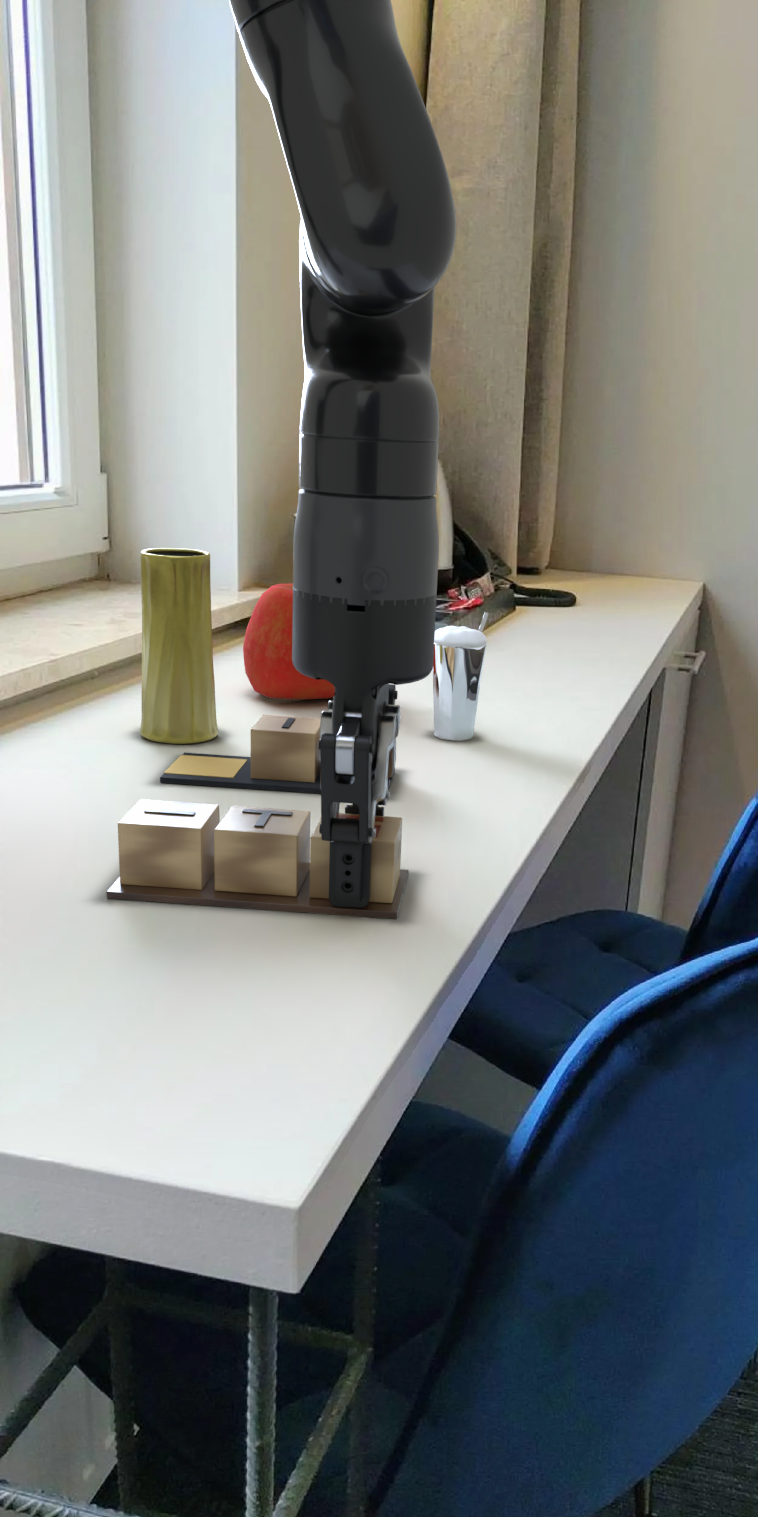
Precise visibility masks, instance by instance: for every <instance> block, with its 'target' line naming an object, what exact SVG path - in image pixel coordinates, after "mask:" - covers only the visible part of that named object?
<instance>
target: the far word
mask: <svg viewBox="0 0 758 1517" xmlns="http://www.w3.org/2000/svg"><path fill="white" fill-rule="evenodd" d="M320 720H321V718H317V717H303V716H302V717H301V716H289V715H274V714H273V715H272V714H262V715H261V717H260V718H258V721H256V723H254V725H253V726H252V727H251V728H250V756H243V755H228V754H227V755H226V754H212V753H200V752H199V753H196V752H183V753H182V754H180V755H179V756H178V757H177V758H176V759H175V760H174V761H173V762H172V763H171V765H169V767H168V768H166V770H164V771H163V774H161V776H160V777H159V783H161V784H162V783H163V784H176V785H178V784H179V785H190V786H193V785H194V786H204V787H206V786H207V787H220V788H232V789H233V788H234V789H235V788H236V789H248V790H262V791H263V790H264V791H278V792H279V791H280V792H292V793H304V794H305V793H306V794H319V795H321V789H320V782H321V753H320V750H319V740H321V739H320V735H319V733H320ZM395 773H396V768H395V769H394V774H393V777H394V775H395ZM391 784H392V781H391V782H390V786H388V790H389V789H390V787H391Z"/></svg>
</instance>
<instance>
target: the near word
mask: <svg viewBox="0 0 758 1517" xmlns="http://www.w3.org/2000/svg"><path fill="white" fill-rule="evenodd" d="M311 815H312V814H311V811H310V810H301V809H300V810H299V809H286V808H271V807H257V806H246V805H245V806H243V805H231V806H230V808H228V810H227V811H226V813H225V815H224V816H223V817H222V818H221V819H220V804H217V803H202V802H191V801H189V802H188V801H174V800H161V799H145V798H141V799H139V800H138V801H137V802H136V803H135V804H134V805H133V807H131V809H129V811H127V813H126V814H125V815H124V816H123V817H122V818H121V819H119V821H118V822H117V841H118V844H117V845H118V869H119V871H118V872H119V876H118V877H117V879H115V881H114V882H113V884H111V886H110V887H109V888H108V889H107V890H106V899H113V900H114V899H115V900H116V899H117V900H127V901H143V902H158V903H171V904H182V905H183V904H185V905H197V906H212V907H226V908H238V909H239V908H241V909H253V910H255V909H256V910H268V911H278V912H279V911H280V912H281V911H282V912H296V913H306V914H307V913H310V914H321V915H322V914H324V915H337V916H349V917H351V916H352V917H365V918H378V919H389V920H390V919H392V920H397V919H398V916H399V913H400V909H401V905H402V901H403V897H404V893H405V890H406V886H407V882H408V878H409V872H410V871H409V869H404V868H403V869H402V868H400V877H399V880H398V884H397V887H396V891H395V895H394V898H393V902H392V903H378V902H369V903H368V905H367V906H366V907H364V908H346V907H336V906H333V905H332V904H331V903H330V901H329V899H322V898H310V843H311V818H312V817H311Z"/></svg>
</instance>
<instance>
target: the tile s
mask: <svg viewBox="0 0 758 1517" xmlns="http://www.w3.org/2000/svg"><path fill="white" fill-rule="evenodd" d="M339 818H348V819H359V814H346V813H345V812H343V813H342V812H339ZM320 824H321V817H320V818H319V819H318V822H317V824H316V826H315V827H314V830H313V832H312V833H311V834H310V898H322V899H329V858H330V841H323V840H322V838H321V834H320V832H319V829H320ZM374 828H376V837H375V838H374V837H373V843H372V863H371V892H370V900H369V902H378V903H392V902H393V898H394V895H395V891H396V887H397V884H398V880H399V877H400V869H401V862H402V861H401V860H402V859H401V858H402V839H403V838H402V837H403V817H401V816H390V815H389V816H386V815H384V816H375V824H374Z"/></svg>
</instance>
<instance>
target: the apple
mask: <svg viewBox="0 0 758 1517" xmlns="http://www.w3.org/2000/svg"><path fill="white" fill-rule="evenodd" d="M292 626H293V582H292V583H290V582H289V583H288V582H287V583H276V584H273V585H271V586H270V587H269V588H268V589H266V590H264V591H263V593H261V595H260V597H259V599H257V602H256V604H255V606H254V607H253V610H252V613H251V615H250V618H249V621H248V624H247V626H246V629H245V635H244V640H243V643H242V644H243V645H242V652H243V664H244V665H243V666H244V673H245V675H246V677H247V679H248V682H249V683H250V685H251V687H252V689H253V691H254V692H256V693H258V694H260V695H261V696H264V697H267V698H270V699H275V700H276V699H277V700H278V699H279V700H292V701H293V700H323V699H331V698H332V699H333V697H334V693H335V688H334V685H333V684H331V683H330V682H328V681H327V680H324V679H319V680H316V679H313V678H310V677H307V676H305V675H303V674H301V673H300V672H298V671H297V670H296V668H295V667H294V665H293V662H292Z"/></svg>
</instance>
